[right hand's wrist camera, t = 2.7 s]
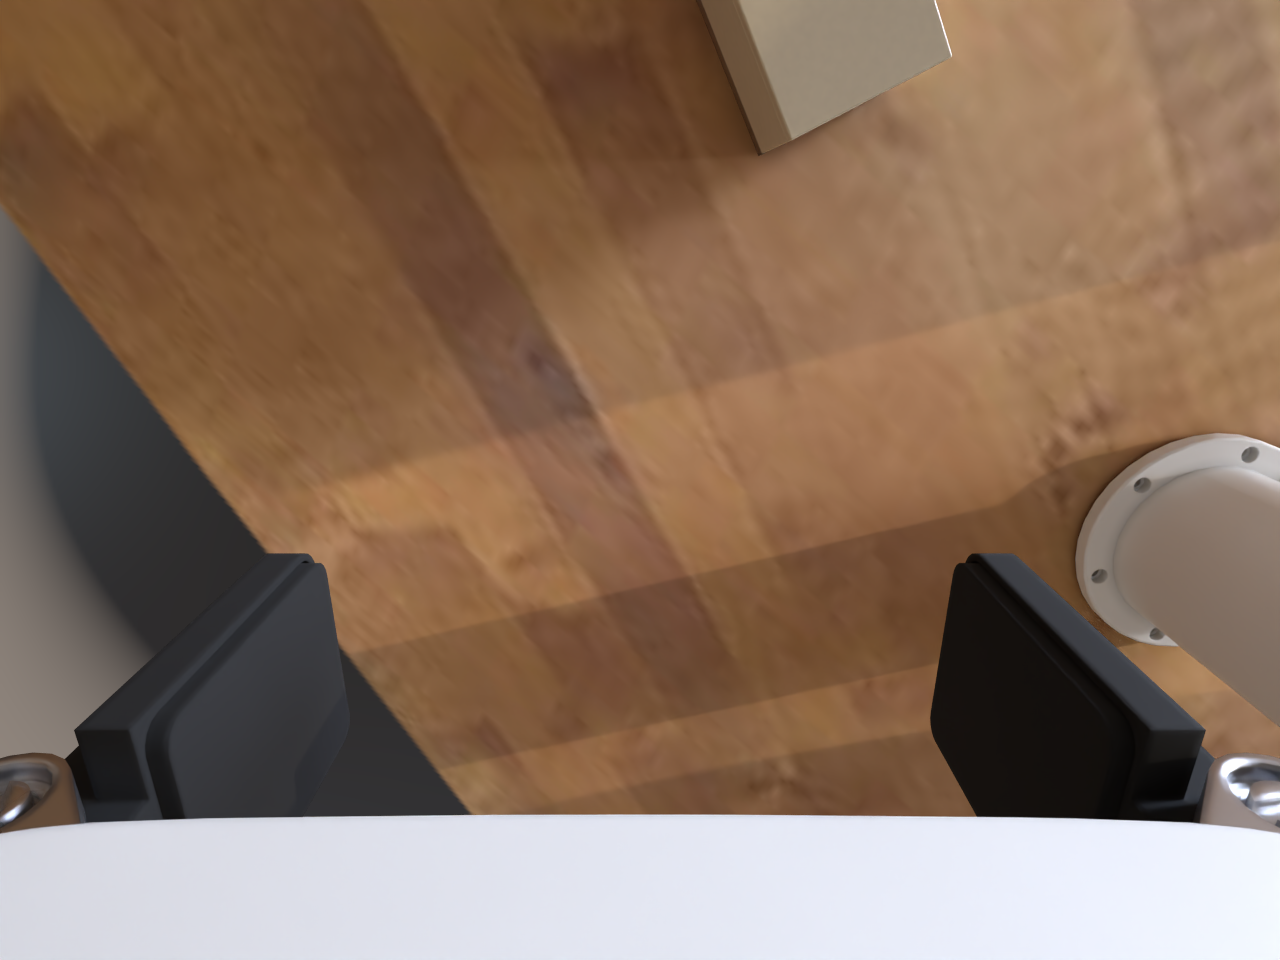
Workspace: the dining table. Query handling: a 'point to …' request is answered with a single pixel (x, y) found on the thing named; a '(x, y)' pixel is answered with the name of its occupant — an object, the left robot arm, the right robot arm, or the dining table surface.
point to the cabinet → (818, 57)
